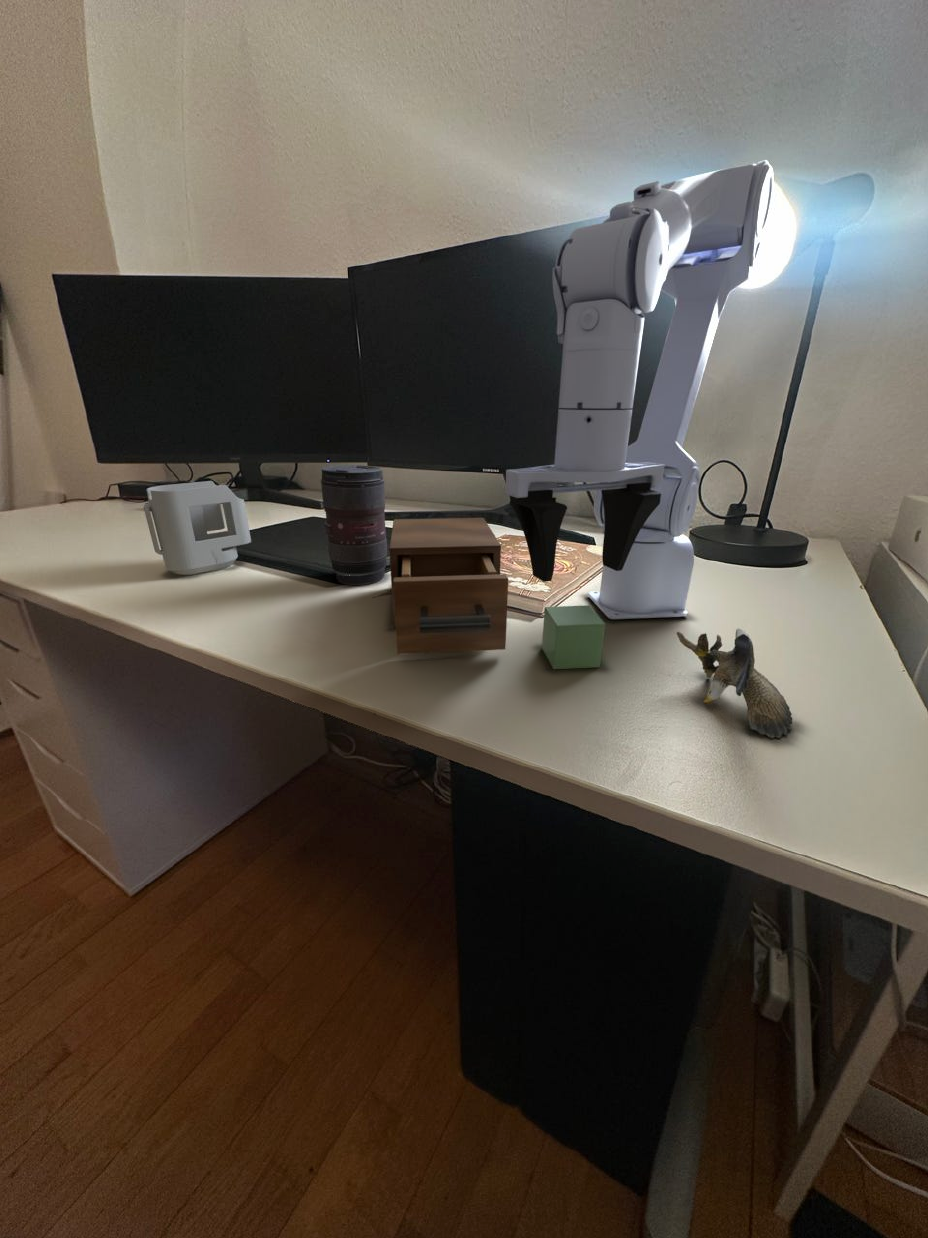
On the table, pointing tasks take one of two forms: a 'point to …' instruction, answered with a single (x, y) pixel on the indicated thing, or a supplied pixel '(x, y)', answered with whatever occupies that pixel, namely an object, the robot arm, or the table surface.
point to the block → (572, 637)
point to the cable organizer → (196, 526)
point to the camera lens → (355, 522)
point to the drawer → (450, 604)
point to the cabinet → (440, 541)
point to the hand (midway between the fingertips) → (578, 572)
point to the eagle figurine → (743, 682)
